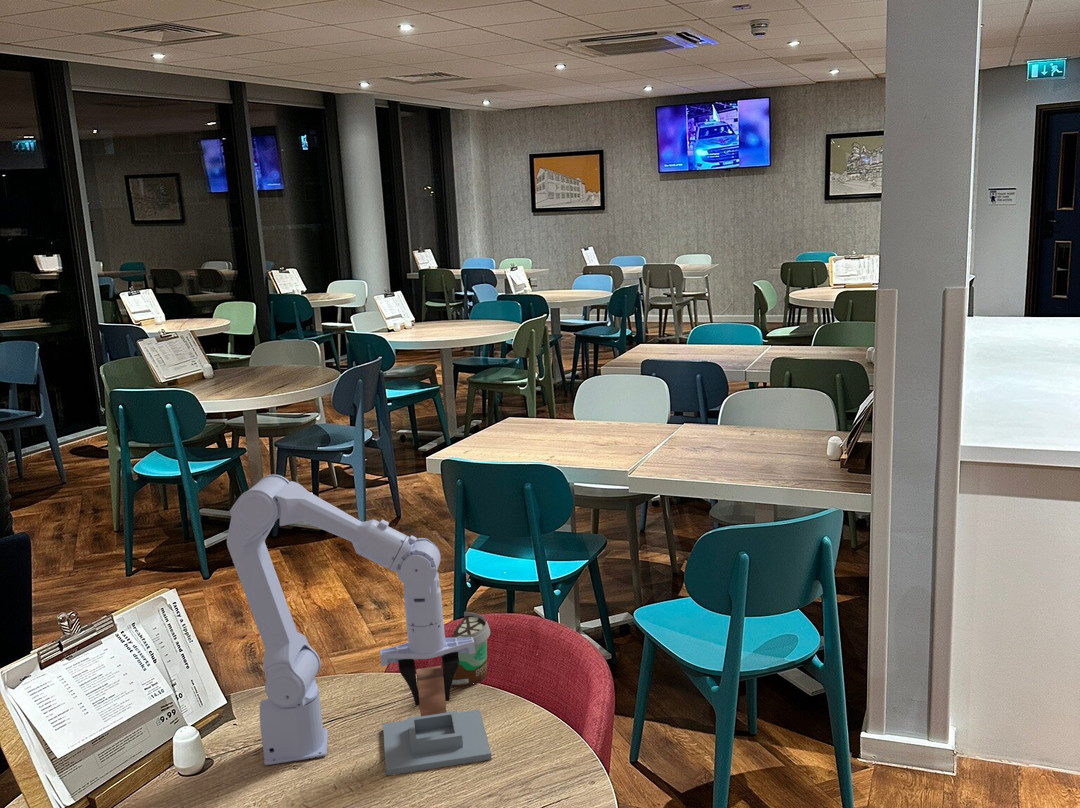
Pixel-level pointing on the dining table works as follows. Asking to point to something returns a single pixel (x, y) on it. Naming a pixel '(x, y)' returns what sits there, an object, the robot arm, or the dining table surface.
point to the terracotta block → (431, 691)
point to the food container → (473, 664)
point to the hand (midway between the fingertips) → (432, 700)
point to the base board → (435, 741)
